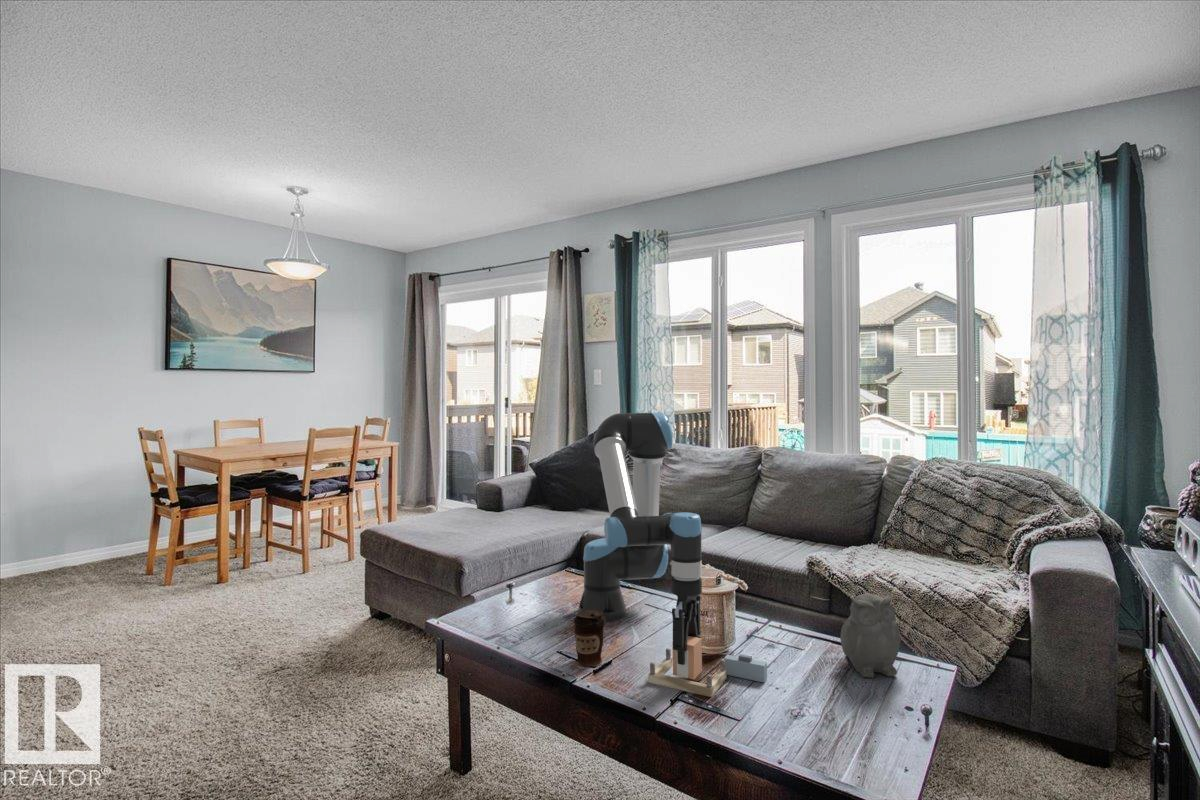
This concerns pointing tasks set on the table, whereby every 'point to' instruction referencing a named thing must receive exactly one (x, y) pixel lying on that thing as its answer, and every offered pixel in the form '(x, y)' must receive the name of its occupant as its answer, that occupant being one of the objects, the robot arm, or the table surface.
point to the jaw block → (691, 657)
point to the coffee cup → (589, 637)
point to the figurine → (871, 635)
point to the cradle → (681, 684)
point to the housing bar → (746, 667)
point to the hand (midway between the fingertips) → (687, 671)
